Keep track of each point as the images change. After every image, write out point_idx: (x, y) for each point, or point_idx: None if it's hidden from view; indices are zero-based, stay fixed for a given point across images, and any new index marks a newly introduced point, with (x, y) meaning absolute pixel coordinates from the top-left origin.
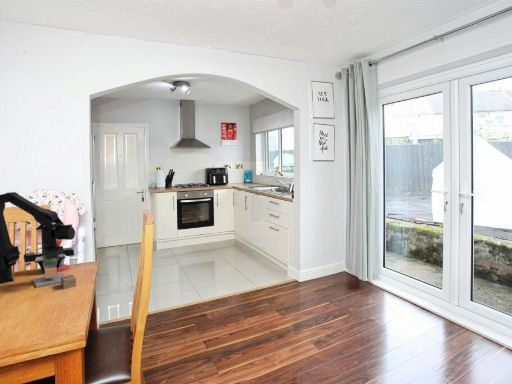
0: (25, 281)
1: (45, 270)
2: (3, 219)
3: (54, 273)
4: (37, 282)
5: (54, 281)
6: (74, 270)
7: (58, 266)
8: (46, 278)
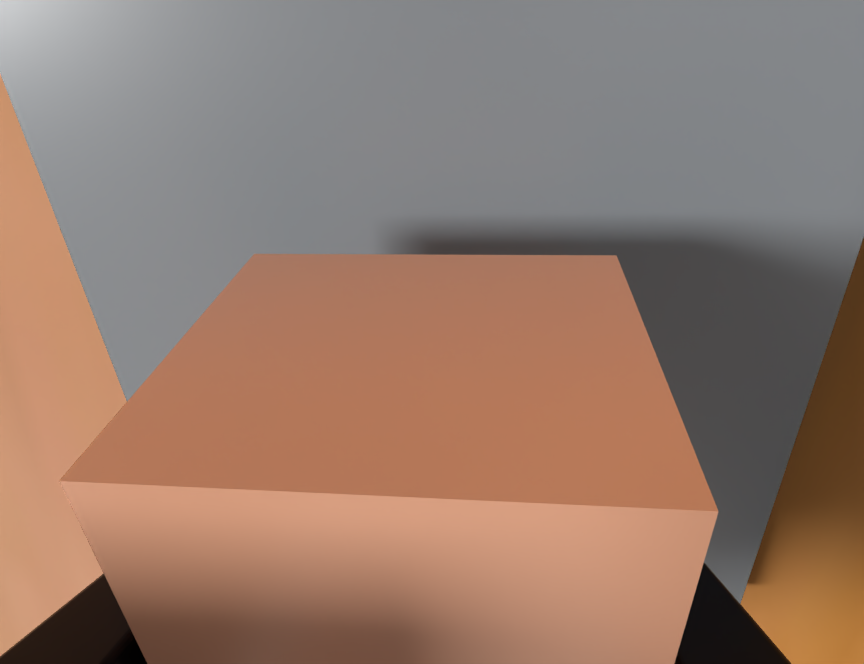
0: (857, 590)
1: (682, 473)
2: None
3: (294, 315)
4: (774, 314)
5: (367, 108)
6: None
7: (49, 636)
8: None
